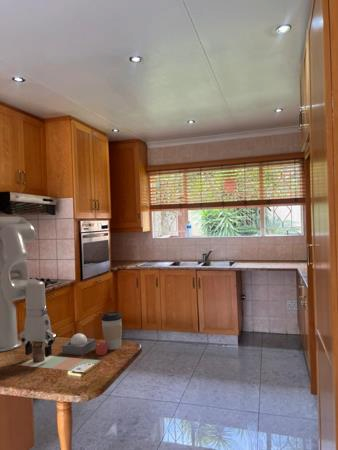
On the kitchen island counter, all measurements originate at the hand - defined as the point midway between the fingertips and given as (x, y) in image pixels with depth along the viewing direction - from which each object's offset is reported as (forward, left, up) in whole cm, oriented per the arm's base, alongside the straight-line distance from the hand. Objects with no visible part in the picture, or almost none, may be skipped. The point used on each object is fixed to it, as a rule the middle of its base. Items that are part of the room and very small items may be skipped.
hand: (38, 355), depth 141 cm
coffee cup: (+21, +22, -3) cm, 31 cm away
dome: (+9, +14, -2) cm, 17 cm away
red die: (+20, +14, -3) cm, 25 cm away
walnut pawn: (0, 0, -2) cm, 2 cm away
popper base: (+9, +14, -3) cm, 17 cm away
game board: (+10, 0, -3) cm, 11 cm away
